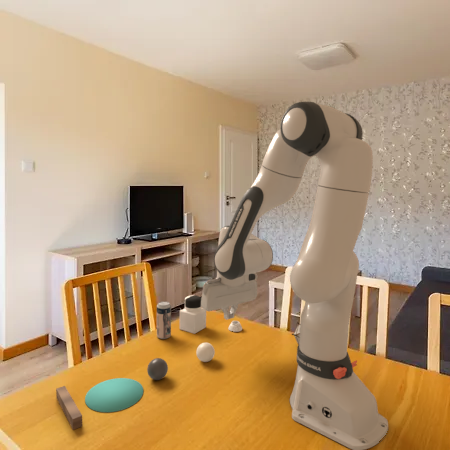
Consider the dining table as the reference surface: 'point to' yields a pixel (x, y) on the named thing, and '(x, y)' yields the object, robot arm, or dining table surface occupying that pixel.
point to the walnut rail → (69, 407)
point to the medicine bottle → (192, 315)
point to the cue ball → (205, 352)
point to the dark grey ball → (157, 369)
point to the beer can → (163, 320)
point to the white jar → (235, 326)
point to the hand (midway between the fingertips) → (229, 318)
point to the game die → (297, 333)
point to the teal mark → (114, 395)
